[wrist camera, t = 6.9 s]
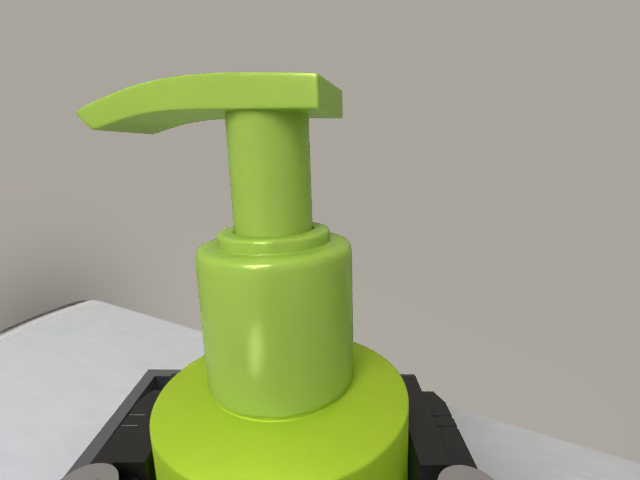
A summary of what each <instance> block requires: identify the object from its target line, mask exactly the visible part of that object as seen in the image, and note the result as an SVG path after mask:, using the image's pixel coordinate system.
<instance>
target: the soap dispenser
mask: <svg viewBox="0 0 640 480" xmlns="http://www.w3.org/2000/svg"><path fill="white" fill-rule="evenodd" d="M77 115H78V116H79V117H80V118H81V120H82V121H83V122H84V123H85V124H86V125H88V126H89V127H90V128H91V129H93V130H104V131H118V132H131V133H144V134H154V133H158V132H161V131H164V130H167V129H170V128H174V127H177V126H180V125H184V124H188V123H193V122H199V121H206V120H215V119H225V121H226V133H227V147H228V159H229V172H230V185H231V197H232V208H233V222H234V226H232V227H228V228H226V229H223V230H222V231H220V232H219V233H218V234H217V239H214V240H211V241H209V242H207V243H205V244H203V245H202V246H200V247H199V248H198V250H197V251H196V256H195V261H196V274H197V283H198V292H199V302H200V312H201V322H202V332H203V342H204V351H205V355H204V356H202V357H201V358H199V359H197V360H195V361H194V362H192V363H191V364H189V365H188V366H186V367H185V368H184V369H182V370H181V371H180V372H179V373H178V374H176V375H175V376H174V377H173V378H172V379H171V380H170V381H169V382H168V384H167V385H166V386H165V387H164V388H163V390H162V391H161V393H160V394H159V396H158V398H157V400H156V402H155V404H154V406H153V409H152V412H151V417H150V437H151V444H152V451H153V458H154V466H155V473H156V480H407V478H408V429H409V398H408V392H407V388H406V385H405V383H404V381H403V379H402V377H401V375H400V374H399V373H398V371H397V370H396V369H395V368H394V366H393V365H392V364H391V363H390V362H388V361H387V360H386V359H385V358H383V357H382V356H381V355H379V354H378V353H376V352H375V351H373V350H371V349H369V348H367V347H365V346H363V345H360V344H358V343H355V342H353V305H352V253H351V252H352V251H351V245H350V242H349V241H348V240H347V239H346V238H345V237H342V236H340V235H337V234H334V233H330V231H329V228H328V227H327V226H326V225H323V224H320V223H315V222H312V200H311V171H310V143H309V118H342V91H341V90H340V89H339V88H337V87H336V86H334V85H333V84H332V83H330V82H329V81H328V80H326V79H325V78H323V77H322V76H321V75H319V74H317V73H288V72H229V73H205V74H192V75H183V76H175V77H169V78H163V79H158V80H153V81H149V82H145V83H142V84H138V85H135V86H132V87H128V88H126V89H123V90H120V91H117V92H115V93H112V94H110V95H107V96H105V97H103V98H101V99H99V100H96V101H94V102H92V103H90V104H88V105H86V106H84V107H83V108H81V109H79V110H78V111H77Z"/></svg>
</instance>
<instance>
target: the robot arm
mask: <svg viewBox="0 0 640 480" xmlns="http://www.w3.org/2000/svg"><path fill="white" fill-rule="evenodd" d="M176 374H178V373H173V374H172V375H171V376H170V377H169V379H168V380H167V382H166V383H165V385H164V386H163V388H164V387H165V386H166V385H167V384H168V382H169V381H170V380H171V379H172V378H173V377H174V376H175V375H176ZM400 375H401V377H402V379H403V381H404V383H405V385H406V388H407V392H408V398H409V429H408V478H407V480H493V479H492V478H491V477H489V476H488V475H487V474H485V473H484V472H482V471H480V470H478V469H477V467H476V465H475V463H474V460H473V458H472V456H471V454H470V452H469V450H468V448H467V446H466V444H465V442H464V440H463V438H462V436H461V434H460V432H459V430H458V429H457V426H456V424H455V422H454V419H453V418H452V415H451V413H450V411H449V409H448V407H447V405H446V403H445V402H444V401H443V400H442V399H441V398H440V397H438V396H437V395H436V394H435V393H434V392H422V391H421V388H420V386H419V384H418V381H417V379H416V376H415V375H412V374H411V375H410V374H408V375H403V374H400ZM163 388H162V389H161V390H153V391H151V392H150V393H148V394H147V395H146V396H144V397H143V398H142V399H140V400H139V401H138V402H137V404H136V405H135V406H134V408H133V409H132V411H131V412H130V414H129V416H127V417H126V419H125V420H124V421H123V423H122V426H121V427H119V428H118V430H117V431H116V432H115V434H114V435H113V436H112V438H111V439H110V441H109V442H108V443H107V445H106V446H105V447H104V449H103V450H102V451H101V453H100V454H99V456H98V457H97V458H96V460H95V461H94V462H93V464H90V465H86V466H83V467H81V468H78V469H76V470H74V471H73V472H71V473H69V474H68V475H66V476H65V477H63V478H62V479H61V480H156V473H155V466H154V458H153V451H152V444H151V437H150V417H151V412H152V409H153V406H154V404H155V402H156V400H157V398H158V396H159V394H160V393H161V391H162V390H163Z"/></svg>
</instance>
